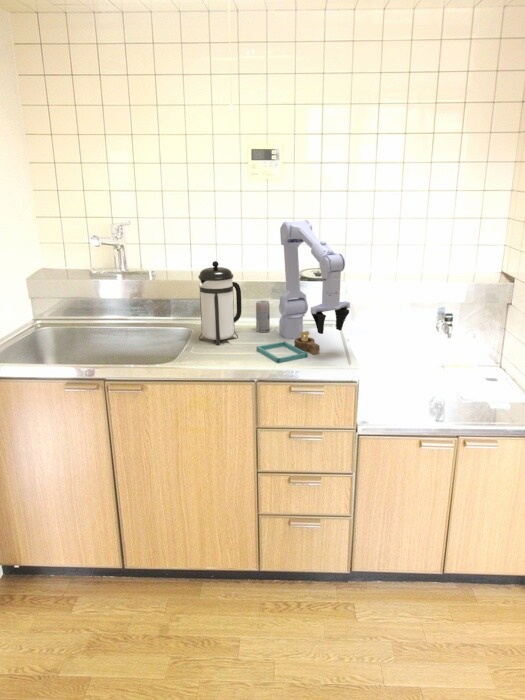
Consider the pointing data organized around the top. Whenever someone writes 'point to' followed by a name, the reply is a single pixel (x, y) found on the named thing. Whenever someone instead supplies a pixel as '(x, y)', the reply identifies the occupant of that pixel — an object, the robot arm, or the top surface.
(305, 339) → the gold t-shaped peg
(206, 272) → the coffee press
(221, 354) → the top surface
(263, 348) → the tray
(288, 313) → the robot arm
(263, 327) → the energy drink
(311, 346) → the ring
